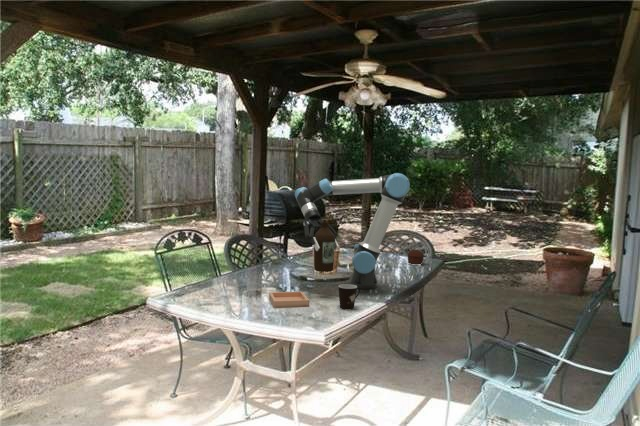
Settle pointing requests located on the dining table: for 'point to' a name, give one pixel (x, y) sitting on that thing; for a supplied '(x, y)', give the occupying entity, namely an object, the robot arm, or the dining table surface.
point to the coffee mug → (347, 295)
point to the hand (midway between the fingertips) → (327, 248)
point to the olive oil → (324, 248)
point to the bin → (288, 299)
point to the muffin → (415, 257)
